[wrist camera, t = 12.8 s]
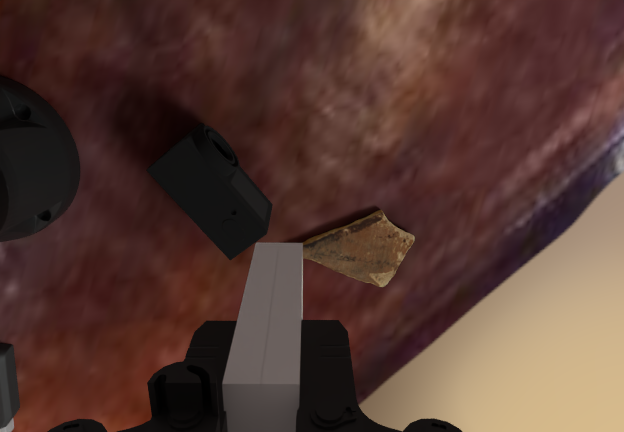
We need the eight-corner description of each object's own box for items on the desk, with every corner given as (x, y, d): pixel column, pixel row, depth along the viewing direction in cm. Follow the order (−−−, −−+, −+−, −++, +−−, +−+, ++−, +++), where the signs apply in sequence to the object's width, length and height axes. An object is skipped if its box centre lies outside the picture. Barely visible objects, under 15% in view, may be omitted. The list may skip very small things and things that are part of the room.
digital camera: (283, 198, 47) (279, 226, 41) (241, 230, 48) (230, 262, 42) (212, 113, 44) (195, 129, 38) (168, 149, 45) (145, 170, 39)
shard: (288, 245, 49) (287, 253, 48) (320, 180, 47) (320, 185, 45) (382, 284, 51) (384, 292, 49) (417, 223, 49) (421, 230, 47)
